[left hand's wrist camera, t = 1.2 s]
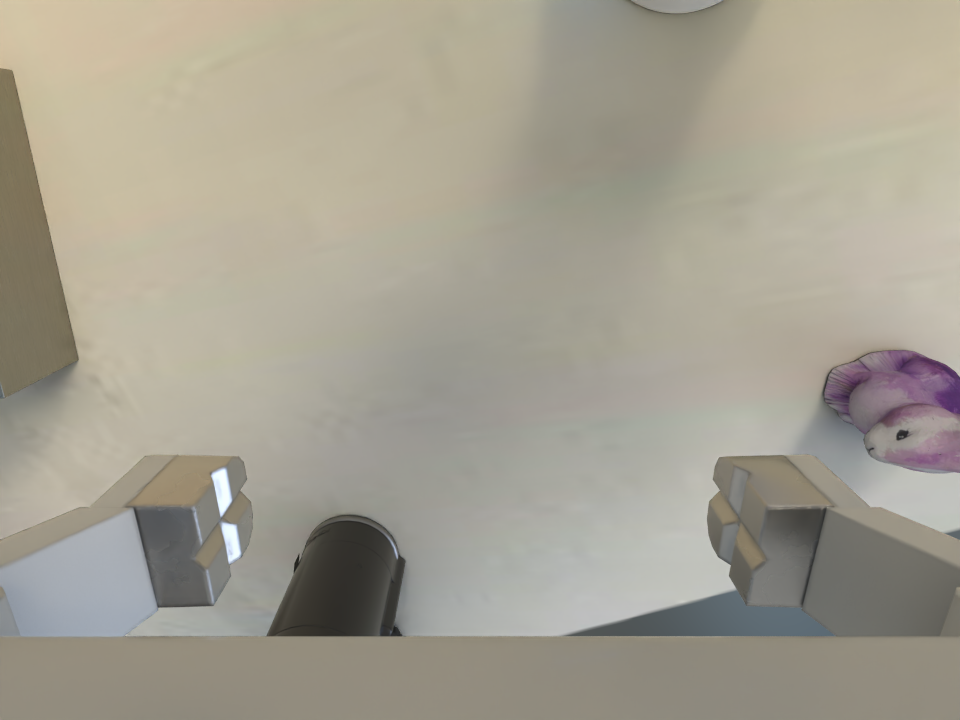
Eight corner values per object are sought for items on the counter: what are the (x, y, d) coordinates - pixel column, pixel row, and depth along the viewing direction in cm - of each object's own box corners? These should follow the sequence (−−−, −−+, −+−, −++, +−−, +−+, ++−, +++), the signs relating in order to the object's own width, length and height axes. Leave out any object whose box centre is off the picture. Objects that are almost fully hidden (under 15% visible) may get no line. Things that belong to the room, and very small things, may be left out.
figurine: (795, 391, 53) (909, 478, 39) (896, 318, 51) (1056, 383, 37) (848, 458, 55) (974, 564, 41) (947, 392, 53) (1116, 479, 39)
